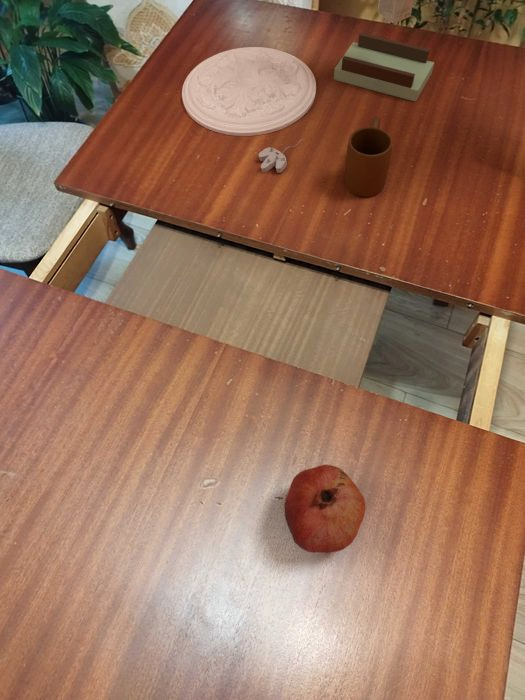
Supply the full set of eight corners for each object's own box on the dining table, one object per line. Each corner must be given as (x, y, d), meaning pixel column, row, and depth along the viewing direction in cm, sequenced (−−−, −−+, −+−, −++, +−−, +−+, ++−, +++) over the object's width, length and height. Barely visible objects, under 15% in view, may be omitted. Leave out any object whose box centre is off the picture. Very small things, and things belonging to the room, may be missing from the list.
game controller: (252, 169, 102) (251, 158, 100) (279, 132, 107) (279, 121, 105) (279, 178, 101) (279, 167, 98) (305, 140, 105) (306, 128, 103)
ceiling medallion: (327, 57, 118) (328, 43, 115) (299, 144, 105) (300, 130, 102) (205, 44, 122) (203, 30, 120) (164, 126, 109) (160, 112, 107)
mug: (350, 150, 103) (355, 106, 95) (390, 155, 102) (399, 112, 94) (339, 195, 98) (344, 153, 90) (382, 201, 97) (390, 159, 88)
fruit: (311, 462, 74) (313, 436, 65) (375, 504, 71) (387, 482, 62) (266, 528, 70) (262, 510, 61) (332, 576, 67) (338, 564, 58)
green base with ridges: (431, 73, 114) (437, 50, 109) (415, 101, 109) (420, 78, 105) (351, 53, 118) (354, 30, 114) (333, 79, 114) (335, 56, 110)
